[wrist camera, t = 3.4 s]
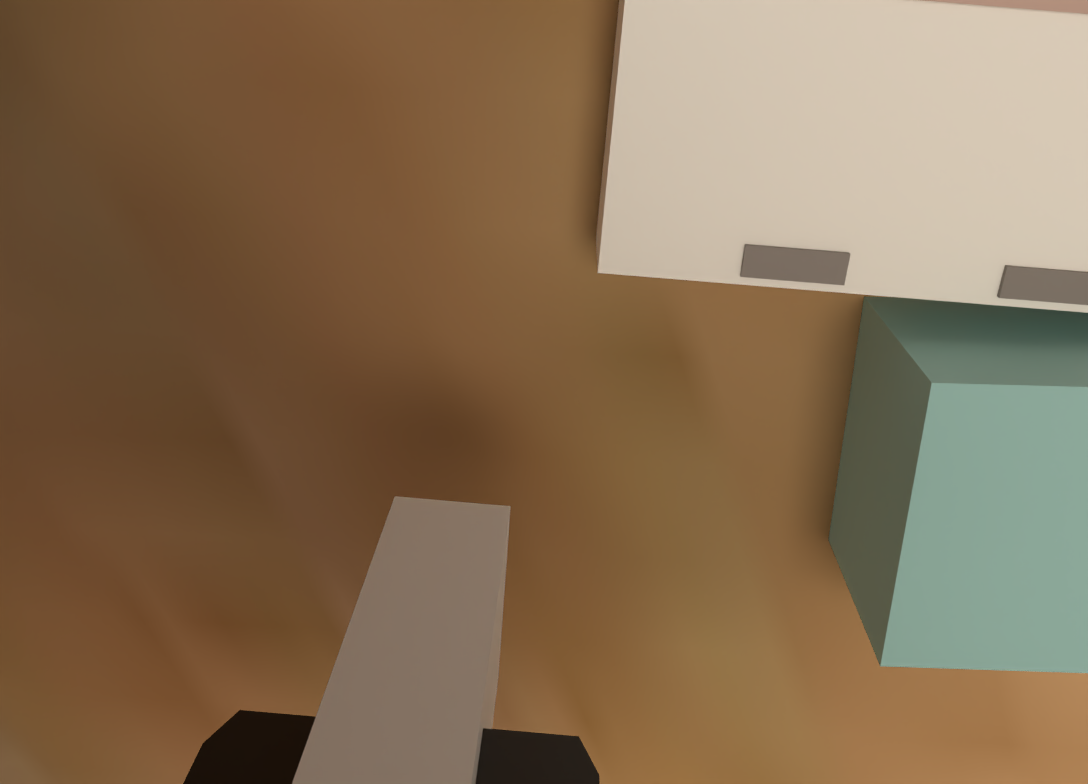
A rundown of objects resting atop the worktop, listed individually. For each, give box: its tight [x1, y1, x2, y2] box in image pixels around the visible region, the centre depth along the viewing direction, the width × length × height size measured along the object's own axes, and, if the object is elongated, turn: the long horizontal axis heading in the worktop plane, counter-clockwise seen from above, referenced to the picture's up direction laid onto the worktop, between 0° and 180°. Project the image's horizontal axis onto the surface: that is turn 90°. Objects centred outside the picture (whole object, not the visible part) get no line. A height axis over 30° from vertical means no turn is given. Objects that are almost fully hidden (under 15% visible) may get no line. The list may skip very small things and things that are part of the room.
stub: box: [829, 297, 1088, 673], centre depth 17 cm, size 6×5×4 cm
